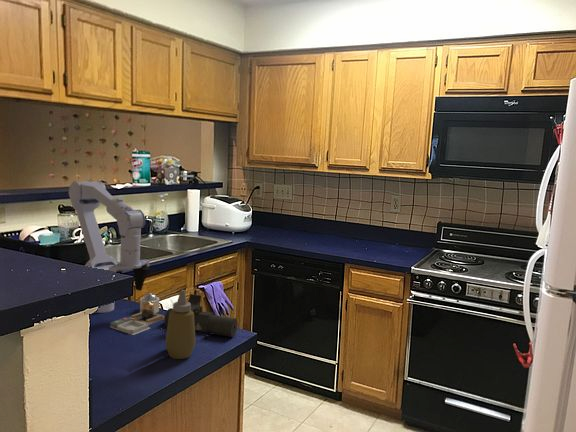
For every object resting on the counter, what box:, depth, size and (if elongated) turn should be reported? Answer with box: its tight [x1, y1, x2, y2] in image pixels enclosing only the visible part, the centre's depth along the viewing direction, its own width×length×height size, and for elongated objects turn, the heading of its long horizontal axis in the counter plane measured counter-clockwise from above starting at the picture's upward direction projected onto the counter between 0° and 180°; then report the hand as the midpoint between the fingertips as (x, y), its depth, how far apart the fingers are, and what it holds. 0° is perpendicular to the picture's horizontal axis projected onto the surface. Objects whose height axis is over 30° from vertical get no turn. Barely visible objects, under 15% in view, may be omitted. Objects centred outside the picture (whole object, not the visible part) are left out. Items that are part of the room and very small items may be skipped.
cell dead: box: [143, 292, 157, 301], centre depth 157 cm, size 4×4×6 cm
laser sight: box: [163, 293, 238, 338], centre depth 145 cm, size 10×22×10 cm, turn 77°
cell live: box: [141, 301, 154, 322], centre depth 149 cm, size 4×4×6 cm
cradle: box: [109, 316, 151, 336], centre depth 142 cm, size 10×7×2 cm
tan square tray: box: [129, 311, 165, 326], centre depth 150 cm, size 7×8×2 cm
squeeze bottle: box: [164, 289, 197, 360], centre depth 127 cm, size 8×8×18 cm
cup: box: [139, 296, 160, 314], centre depth 158 cm, size 6×6×5 cm
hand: (129, 292), depth 147 cm, fingers open, 7 cm apart
